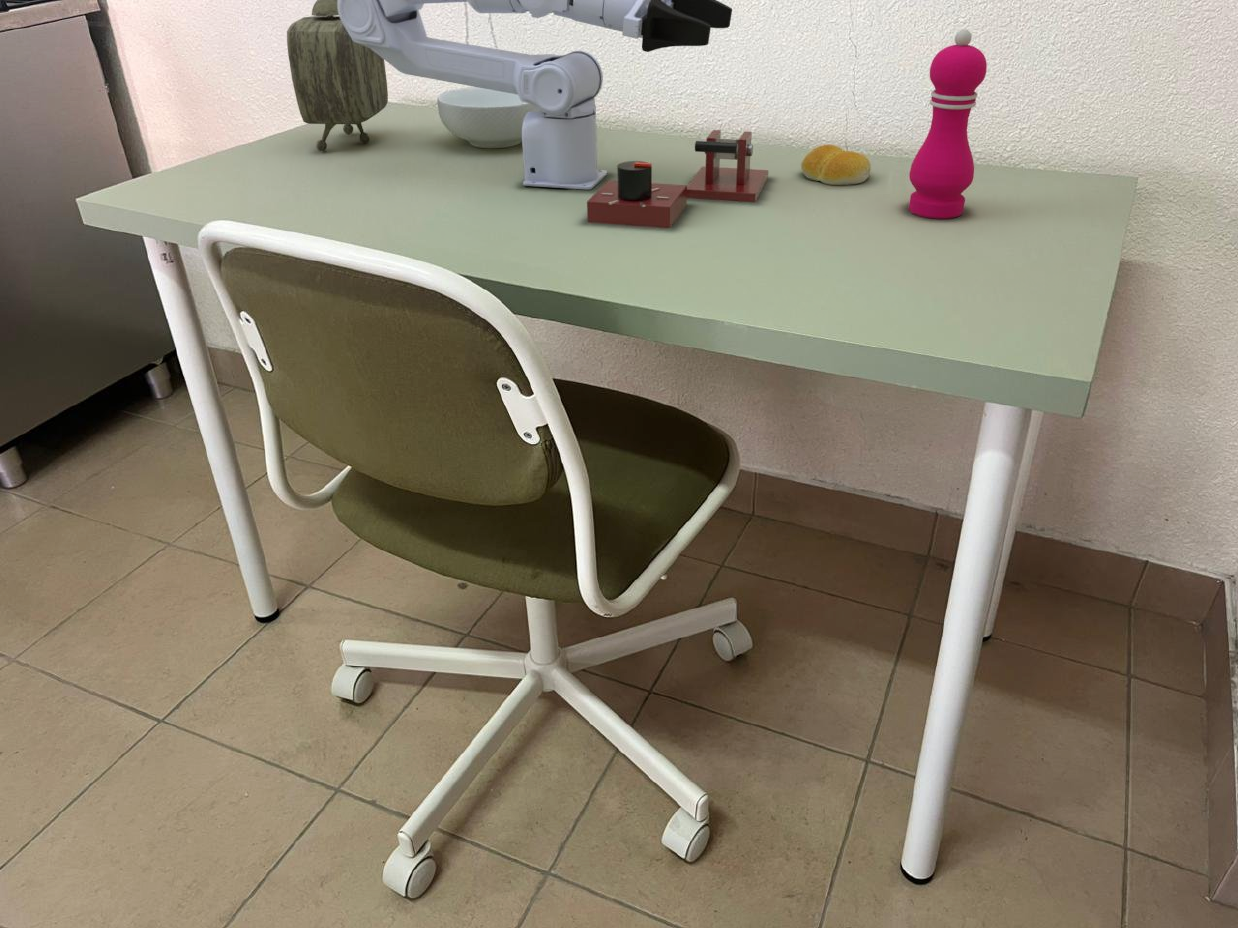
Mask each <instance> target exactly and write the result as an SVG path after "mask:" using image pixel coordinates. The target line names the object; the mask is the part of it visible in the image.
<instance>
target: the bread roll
mask: <svg viewBox="0 0 1238 928" xmlns="http://www.w3.org/2000/svg"><path fill="white" fill-rule="evenodd" d="M800 162H801V163H800V169H801V172H802V174H803V176H805V177H806V179H809V180H812V181H815V182H819V181H820V182H821V183H822V184H825V185H830V186H850V185H858V184H861V183H864V182H865V181H866V180H868V178H869V177H870V173H871V171H872V170H871V169H872V168H871V163H870V160H869V158H868V157H867V156H866V155H864V154H862V153H859V152H857V151H851V150H844V149H843V148H841V146H838V145H833V144H823V145H819V146H817V147H815V148H814V149H812V150H810V152H808V153H807V154H806V155H805V156H804V157H803V158H802V160H801V161H800Z"/></svg>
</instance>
